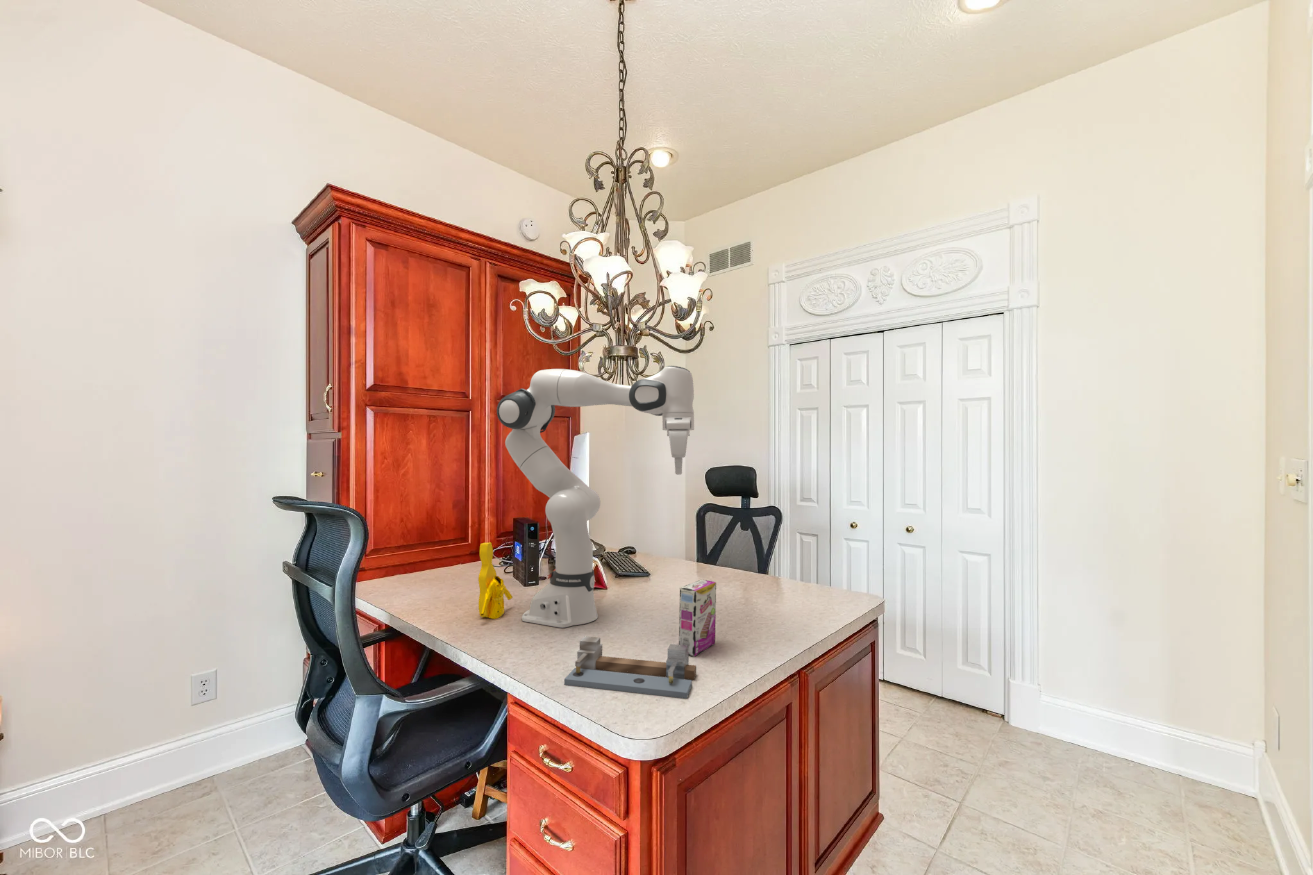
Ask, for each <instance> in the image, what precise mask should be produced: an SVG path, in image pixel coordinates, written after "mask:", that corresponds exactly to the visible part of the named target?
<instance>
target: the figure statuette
mask: <svg viewBox="0 0 1313 875" xmlns="http://www.w3.org/2000/svg"><path fill="white" fill-rule="evenodd" d="M493 558H494V549H493V545H492V542H483V543H480V546H479V560H480V562H481V566H480V571H479V574H478V580H477V581H478V587H479V594H478V595H479V596H478V613H479V617H480V618H489V619H492V620H493V619H494V620H496V619H500V617H501V618H502V616H503V614H505V601H504V596H505V597H506V599H507V600H508V601H510V600H511V599H513V597H514V596H513V595H512V594H511V592H510V591H509V590H508V589H507V586H506V585H505V581H504V579H503V578H501V577H500V576H498V575H497V571H496V569H495V567H494V564H493Z"/></svg>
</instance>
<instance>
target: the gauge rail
mask: <svg viewBox="0 0 1313 875" xmlns="http://www.w3.org/2000/svg"><path fill="white" fill-rule="evenodd" d="M576 652H577V653H576V654H577V656H576V658H577V659H576V660H575V662H574V663H575V664H574V667H575V668H576V673H580V668H581V669H590V670H600V671H609V672H618V673H628V674H637V675H647V676H656V677H666V661H665V662H664V661H656V660H655V661H654V660H644V659H635V658H626V657H625V658H624V657H623V658H622V657H614V656H605V655H603V643H601V637H599V636H598V637H597V636H588V635H587V636H585V635H584V636H583V637H582V638H581V639H580V640H579V650H578V651H576ZM696 676H697V665H696V664H695V665H694V664H689V665H687V666H686V668H685V679H684V680H692V681H695V678H696Z"/></svg>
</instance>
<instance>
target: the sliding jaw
mask: <svg viewBox="0 0 1313 875" xmlns="http://www.w3.org/2000/svg"><path fill="white" fill-rule="evenodd" d="M689 658H690V657H689V652H688V645H679V644H674V643H670V644H669V645H668V648H667V659H666V660H665V662H666V678H669V683H673V678H675V679H684V680H686V679H685V668H686V666H687V665H690V660H689Z"/></svg>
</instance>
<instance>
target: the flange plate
mask: <svg viewBox="0 0 1313 875" xmlns="http://www.w3.org/2000/svg"><path fill="white" fill-rule="evenodd" d="M563 685H564V686H565V685H566V686H572V687H573V686H575V687H581V688H589V689H590V688H591V689H600V690H609V691H616V692H617V691H618V692H627V693H635V694H641V695H642V694H643V695H653V696H661V697H670V698H678V699H679V698H680V699H685V700H686V699H688V696H689V694H690V692H691V689H692V687H693V680H690V679H675V678H673V683H669V678H666V677H661V676H652V675H642V674H633V673H624V672H614V671H605V670H590V669H581V668H580V673H576V667H574V668H573V669H572V670H571V672H569V673H568V675H567V676H566V677H565V678H564V681H563Z"/></svg>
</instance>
